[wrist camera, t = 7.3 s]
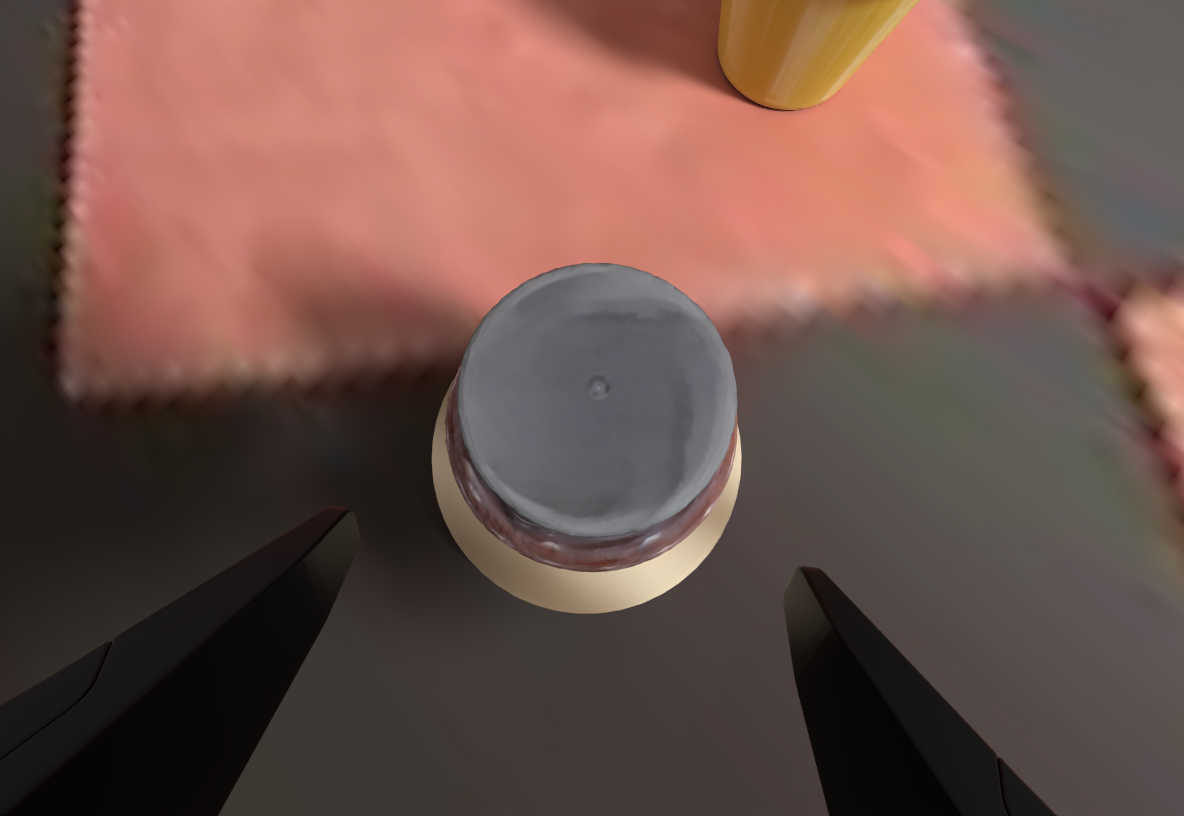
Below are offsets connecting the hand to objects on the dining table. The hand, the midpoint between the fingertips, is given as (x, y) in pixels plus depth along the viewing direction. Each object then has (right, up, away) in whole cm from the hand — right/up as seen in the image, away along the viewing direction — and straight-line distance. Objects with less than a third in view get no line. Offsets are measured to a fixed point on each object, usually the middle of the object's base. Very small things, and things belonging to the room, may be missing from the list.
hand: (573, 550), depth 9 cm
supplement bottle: (0, +1, +8) cm, 8 cm away
